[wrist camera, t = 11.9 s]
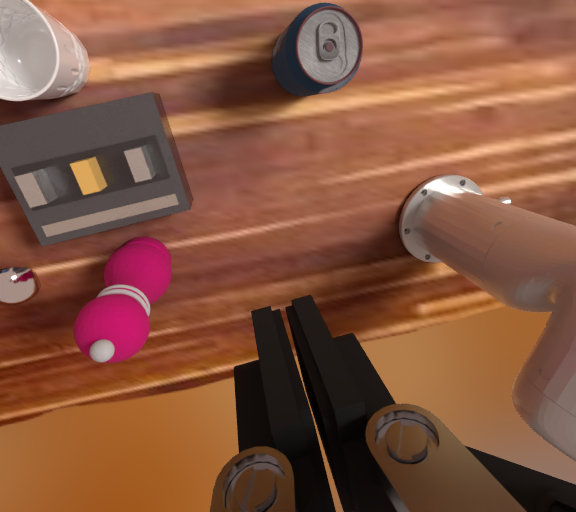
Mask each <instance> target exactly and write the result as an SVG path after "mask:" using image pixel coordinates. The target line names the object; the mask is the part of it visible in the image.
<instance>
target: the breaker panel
mask: <svg viewBox="0 0 576 512" xmlns="http://www.w3.org/2000/svg"><path fill="white" fill-rule="evenodd" d="M92 157H96V160H97V162H98V164H99V167H100V169H101V172H102V174H103V177H104V179H105V181H106V184H107V187H105V188H104V189H102V190H101V191H98V192H94V193H90V194H86V195H83V193H82V191H81V188H80V186H79V184H78V182H77V179H76V177H75V175H74V173H73V170H72V168H71V166H70V164H71V163H73V162H76V161H79V160H83V159H87V158H92ZM0 167H1V169H2V171H3V173H4V175H5V177H6V179H7V181H8V183H9V184H10V186H11V188H12V190H13V192H14V194H15V196H16V198H17V200H18V202H19V204H20V206H21V207H22V209H23V211H24V213H25V215H26V217H27V219H28V221H29V223H30V225H31V227H32V228H33V230H34V232H35V234H36V236H37V238H38V240H39V242H40V244H41V246H46V245H50V244H54V243H58V242H62V241H66V240H70V239H74V238H78V237H82V236H86V235H90V234H94V233H98V232H102V231H106V230H110V229H114V228H118V227H122V226H126V225H130V224H134V223H138V222H142V221H146V220H150V219H154V218H158V217H162V216H167V215H171V214H175V213H179V212H183V211H187V210H190V209H191V206H192V202H193V197H192V194H191V191H190V188H189V184H188V181H187V178H186V175H185V172H184V169H183V166H182V163H181V160H180V156H179V153H178V150H177V147H176V144H175V141H174V138H173V135H172V131H171V128H170V125H169V122H168V119H167V116H166V113H165V110H164V106H163V103H162V100H161V97H160V94H157V93H153V92H151V93H146V94H142V95H137V96H132V97H128V98H123V99H119V100H114V101H110V102H105V103H101V104H96V105H91V106H87V107H82V108H78V109H73V110H69V111H64V112H60V113H55V114H51V115H46V116H41V117H37V118H32V119H28V120H23V121H19V122H14V123H10V124H5V125H0Z"/></svg>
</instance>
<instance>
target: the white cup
mask: <svg viewBox="0 0 576 512" xmlns="http://www.w3.org/2000/svg"><path fill="white" fill-rule="evenodd" d="M90 68H91V67H90V63H89V58H88V54H87V50H86V49H85V48H84V46H83V45H82V43H81V42H80V40H79V39H78V37H77V36H76V35H75V34H73V33H72V32H70V31H69V30H68V29H67V28H66V27H65V26H64V25H62V24H61V23H60V22H59V21H57V20H56V19H55V18H53V17H52V16H51V15H49V14H48V13H47V12H45V11H44V10H42V9H40V8H39V7H37V6H36V5H35V4H33V3H32V2H30V1H29V0H0V99H3V100H9V101H27V100H45V99H53V98H60V97H65V96H69V95H72V94H75V93H78V92H79V91H80V90H81V89H82V88H83V86H84V85H85V84H86V83H87V82H88V77H89V73H90Z"/></svg>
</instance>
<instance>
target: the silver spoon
mask: <svg viewBox="0 0 576 512" xmlns="http://www.w3.org/2000/svg"><path fill="white" fill-rule="evenodd" d="M40 288H41V283H40V280H39V278H38V275H37V273H36V272H35V271H34V270H32V269H29V268H21V267H15V268H6V269H1V270H0V304H4V305H17V304H21V303H24V302H26V301H28V300H30V299H31V298H33V297H34V296H35V295H36V294H37V293H38V292H39V290H40Z"/></svg>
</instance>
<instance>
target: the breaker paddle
mask: <svg viewBox="0 0 576 512" xmlns="http://www.w3.org/2000/svg"><path fill="white" fill-rule="evenodd" d="M70 166H71V168H72V170H73V173H74V175H75V177H76V179H77V182H78V184H79V186H80V188H81V191H82V193H83V195H86V194H90V193H94V192H98V191H101V190H102V189H104V188H105V187H107V184H106V181H105V179H104V177H103V174H102V172H101V169H100V167H99V164H98V162H97V160H96V157H92V158H87V159H83V160H79V161H76V162H73V163H71V164H70Z"/></svg>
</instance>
